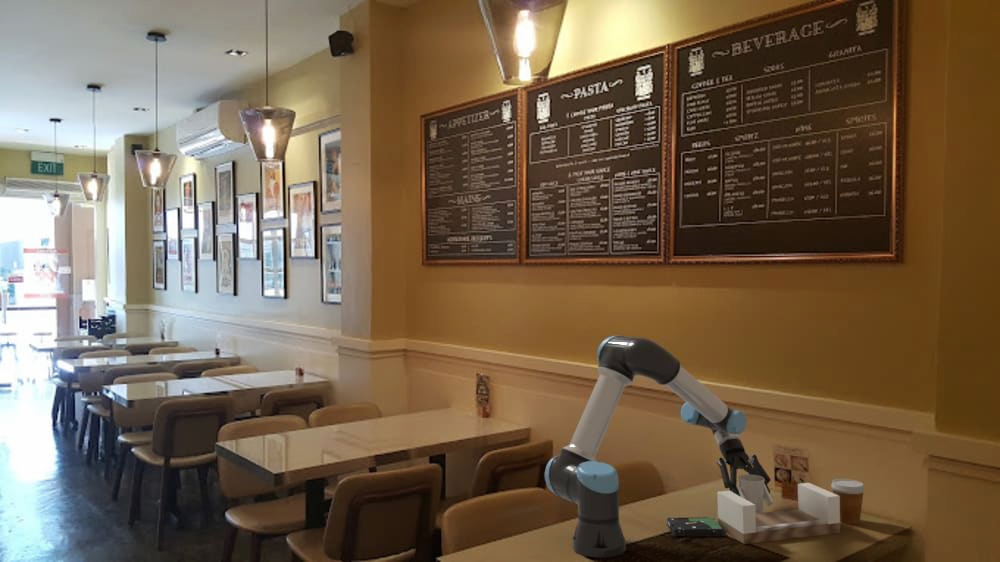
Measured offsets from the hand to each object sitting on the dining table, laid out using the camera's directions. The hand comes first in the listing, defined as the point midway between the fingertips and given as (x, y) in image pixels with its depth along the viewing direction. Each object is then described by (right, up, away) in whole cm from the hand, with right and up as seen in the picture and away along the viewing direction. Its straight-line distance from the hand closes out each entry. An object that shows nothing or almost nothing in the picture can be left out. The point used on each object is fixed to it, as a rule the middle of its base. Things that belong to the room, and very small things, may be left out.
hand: (757, 505), depth 222 cm
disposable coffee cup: (+27, -4, -4) cm, 27 cm away
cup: (-1, -4, +3) cm, 6 cm away
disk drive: (-22, -5, -9) cm, 25 cm away
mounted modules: (+2, -1, -10) cm, 11 cm away
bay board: (+2, -4, -10) cm, 11 cm away
